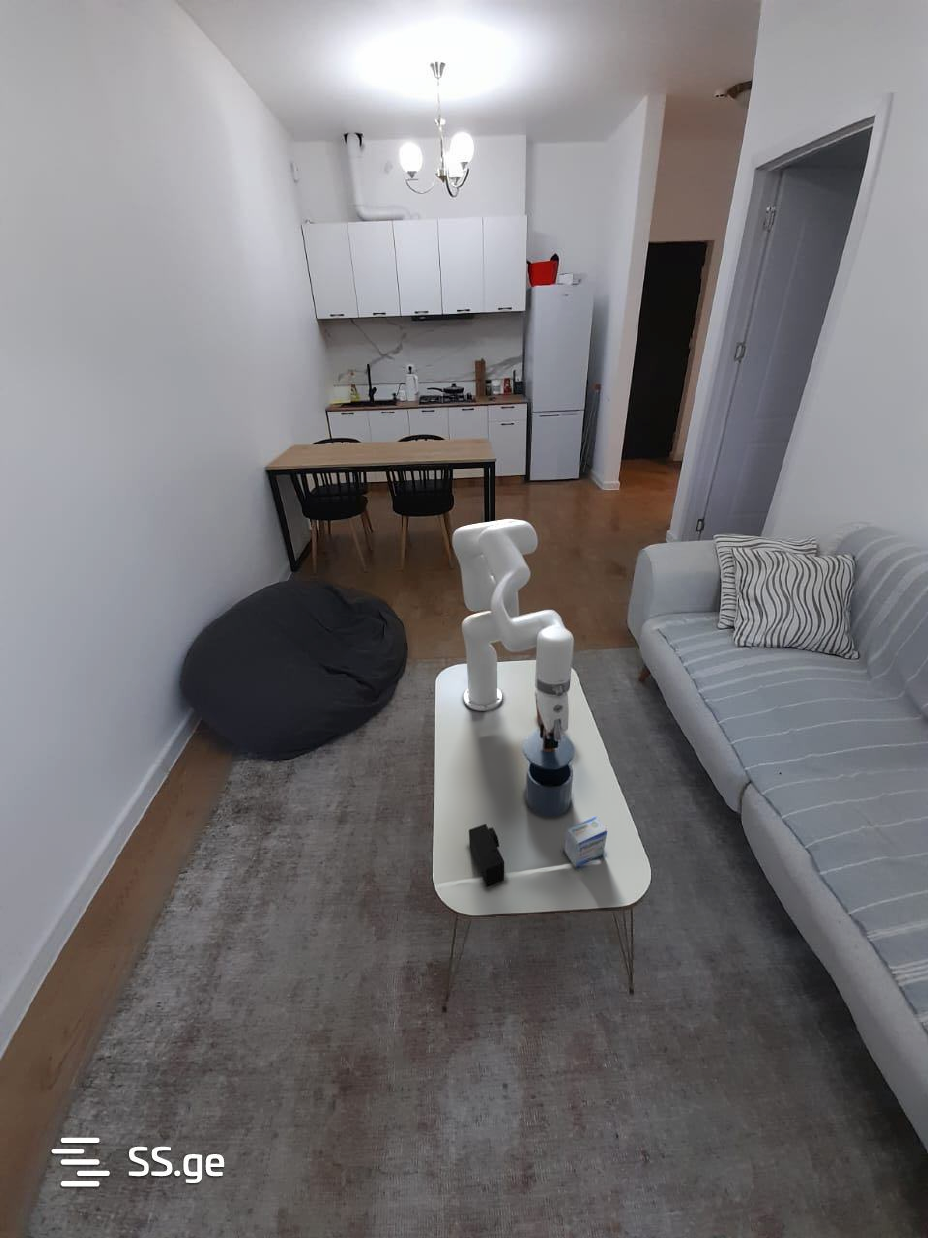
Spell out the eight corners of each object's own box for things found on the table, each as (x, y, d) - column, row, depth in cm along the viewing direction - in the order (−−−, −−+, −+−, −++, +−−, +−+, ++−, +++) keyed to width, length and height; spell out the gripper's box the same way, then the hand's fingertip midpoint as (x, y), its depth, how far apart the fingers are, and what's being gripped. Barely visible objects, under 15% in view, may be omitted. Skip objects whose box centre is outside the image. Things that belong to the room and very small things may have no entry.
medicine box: (575, 868, 111) (578, 844, 107) (563, 852, 115) (566, 828, 110) (604, 854, 114) (608, 831, 109) (592, 839, 117) (595, 815, 113)
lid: (517, 736, 123) (518, 714, 120) (565, 730, 124) (567, 708, 121) (529, 774, 113) (530, 751, 109) (581, 767, 114) (583, 745, 110)
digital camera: (509, 879, 110) (509, 860, 106) (486, 888, 108) (486, 869, 104) (491, 840, 118) (490, 821, 114) (469, 848, 116) (468, 829, 113)
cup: (521, 784, 132) (522, 756, 126) (562, 779, 133) (565, 751, 127) (531, 820, 122) (533, 792, 117) (576, 814, 123) (579, 785, 118)
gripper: (581, 703, 101) (575, 766, 110) (558, 657, 115) (554, 717, 124) (545, 707, 100) (542, 770, 110) (527, 660, 114) (525, 720, 124)
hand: (548, 741), depth 117 cm, fingers closed on lid, 2 cm apart
